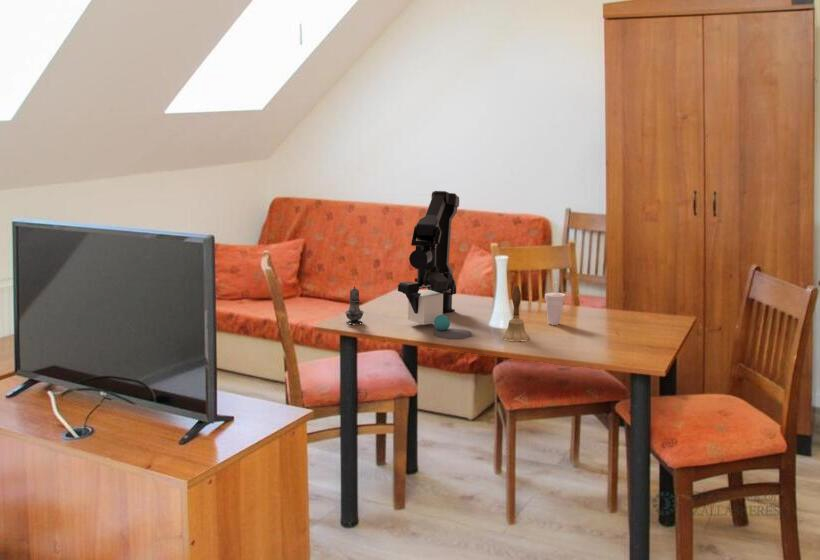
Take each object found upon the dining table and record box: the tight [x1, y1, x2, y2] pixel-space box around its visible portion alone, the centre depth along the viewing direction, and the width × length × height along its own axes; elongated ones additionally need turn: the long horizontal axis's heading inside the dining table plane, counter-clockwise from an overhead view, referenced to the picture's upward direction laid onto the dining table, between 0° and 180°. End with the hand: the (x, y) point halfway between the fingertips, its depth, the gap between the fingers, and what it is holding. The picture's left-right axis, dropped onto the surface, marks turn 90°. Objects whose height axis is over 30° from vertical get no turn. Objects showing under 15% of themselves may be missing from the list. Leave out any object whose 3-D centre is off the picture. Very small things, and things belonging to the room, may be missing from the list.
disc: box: [432, 327, 474, 340], centre depth 296 cm, size 12×12×1 cm
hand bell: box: [501, 285, 530, 342], centre depth 291 cm, size 8×8×16 cm
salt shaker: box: [344, 285, 365, 325], centre depth 307 cm, size 6×6×12 cm
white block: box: [407, 288, 444, 326], centre depth 305 cm, size 8×8×9 cm
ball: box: [433, 314, 451, 331], centre depth 300 cm, size 5×5×5 cm
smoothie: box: [544, 280, 566, 326], centre depth 308 cm, size 6×6×14 cm
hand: (426, 311), depth 305 cm, fingers closed on white block, 8 cm apart
